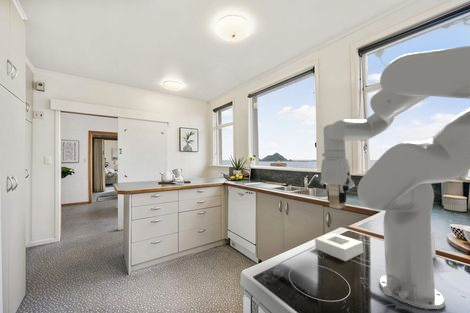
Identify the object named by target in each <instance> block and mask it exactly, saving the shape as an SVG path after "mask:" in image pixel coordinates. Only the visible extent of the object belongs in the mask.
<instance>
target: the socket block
mask: <svg viewBox="0 0 470 313" xmlns="http://www.w3.org/2000/svg"><path fill="white" fill-rule="evenodd" d="M314 240H315V241H314V242H315V243H314V244H315V246H314V247H315V250H318V251H320V252H322V253H324V254H327V255H328V256H332V257H334V258H337V259H339V260H342V261H344V262H348V261H349V260H351V259H353V258H355V257H357V256H359V255H361V254H363V253H364V242H363V241H361V240H358V239H354V238H352V237H349V236H345V235H342V234H339V233H335V232H331V233H328V234H326V235H322V236H319V237H317V238H316V237H315V238H314Z"/></svg>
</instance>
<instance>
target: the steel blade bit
mask: <svg viewBox="0 0 470 313" xmlns="http://www.w3.org/2000/svg"><path fill="white" fill-rule="evenodd" d="M431 236H432V237H431V239H432V255H433V260H434V259H435V258H436V257H437V256H436V254H437V253H436V240H435V238H436V237H435V231H434V230H431Z"/></svg>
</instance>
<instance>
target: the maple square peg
mask: <svg viewBox="0 0 470 313" xmlns="http://www.w3.org/2000/svg"><path fill="white" fill-rule="evenodd" d="M328 186H329V201H328V206H329V208H333V209H339V210H340V209H343V208H344V209H345V208H346V202H345V203H340V202H339V193H340V188H339V185H336V184H328Z"/></svg>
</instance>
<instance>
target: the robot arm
mask: <svg viewBox="0 0 470 313" xmlns="http://www.w3.org/2000/svg"><path fill="white" fill-rule="evenodd" d="M379 78H380V79H379V83H380V86H381V89H380V90H378V91H377V92H376V93H375V94H374V95H372V96H371V98H370V103H369V105H370V108H371V109H372V111H373V114H371V115H370V116H368V117H367V118H365V119H339V120H337V121H335V122H333V123H332V124H327V125H325V126H324V127H323V129H322V130H323V153H322V155H321V156H322V157H323V158H324V159H322V162H321V167H320V180H319V184H320V185H321V186H323V188H324V189H325V191H326V192H327V201H328V202H329V186H328V184H336V185H339V188H340V193H339V202H340V203H345V204H346V201H347V192H348V191H349V190H350V189H351V188H353V187H355V186H356V183H355V182H354V180H353V179H352V176H351V169H350V168H351V167H350V162H349V160H348V158H347V157H346V155H347V154H346V142H348V141H349V142H350V141H358V142H359V141H360V142H361V141H366V140H367V141H368V140H370V139H373V138H374V137H376V136H378V135H380V134H381V133H383V132H384V131H386V130H387V129H389V127H390V126H391V124H393V122H394V119H395V117H397V116H398V115H400V114H402V113H403V112H405V111H406V110H407V111H408V109H410V108H412V107H414V106H415V105H418V104H419V103H420V102H423V101H424V100H425V99H427V98H429V97H440V98H441V97H443V98H453V99H468V100H469V99H470V45H469V46H468V45H466V46H465V45H464V46H458V47H457V46H456V47H450V48H444V49H436V50H430V51H422V52H421V51H420V52H413V53H406V54H403V55H401V56H399V57H396V58H395V59H394V60H392V61H391V62H389V63H388V64H387V65H386V66H385V67H384V69H383V71H382V72H381V75H380V77H379ZM469 170H470V107H469V108H468V109H465V111H464V110H463V112H461V113H459V114H458V115H456V116H455V117H454V118H452V119H451V120H449V121H448V122H447V124H446V125H444V126H443V128H441V129H440V130H439V131H438V132H437V133H435V135H433V136H432V137H430V138H429V139H426V140H422V141H421V140H414V141H413V140H412V141H405V142H401V143H398V144H396V145H394V146H392V147H390V148H388V150H387V149H386V150H385V152H384V153H383V154H382V155H381V156H380V157H379V158H378V159H377V160H376V162H375V163H374V164H372V166H371V167H370V168H369V169H368V170H367V171H366V172H365V174H363V176H362V177H361V179H360V180H359V182H358V185H357V189H356V192H357V197H358V198H359V200H360V202H361V203H362V205H364V206H365V207H367V208H368V209H371V210H374V211H385V212H384V216H383V221H382V222H383V240H384V241H383V245H384V260H385V263H384V264H385V275H382V276H381V277H380V278H379V286H380V288H381V289H382V292H383V293H384V295H386V296H388V297H391V298H393V299H395V300H396V299H397V301H398V300H400V301H399V302H401V301H402V302H401V303H403V302H406V303H409V304H411V305H413V306H412V307H414V306H416V307H415V308H417V307H420V308H419V309H422V308H425V309H424V310H428V309H437V310H441V309H443V308H444V307H445V306H446V305H445V297H444V296H443V295H442V293H441V292H439V291H438V290H437V289H436V288H435V273H434V272H435V271H434V259H433V255H432V239H431V237H432V236H431V231H432V211H433V206H434V200H435V192H434V188H433V185H432V184H440V183H446V182H450V181H454V180H455V179H457V178H458V177H460V176H462V175H463V174H464V173H466V172H467V171H469Z"/></svg>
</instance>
